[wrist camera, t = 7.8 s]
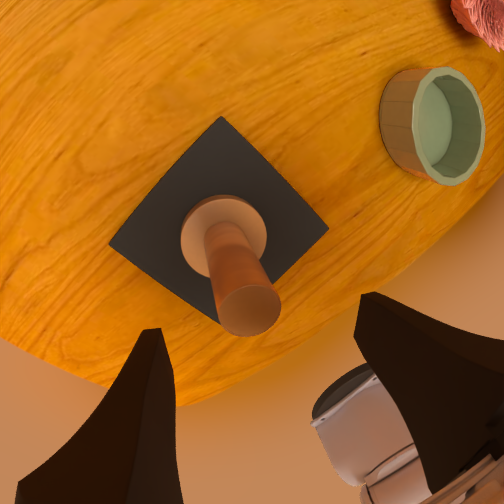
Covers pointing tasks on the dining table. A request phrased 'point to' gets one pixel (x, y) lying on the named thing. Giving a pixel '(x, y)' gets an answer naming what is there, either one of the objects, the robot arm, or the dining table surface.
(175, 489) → the robot arm
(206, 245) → the utensil
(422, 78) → the holder
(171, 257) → the coaster
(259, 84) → the dining table surface
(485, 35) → the flower
